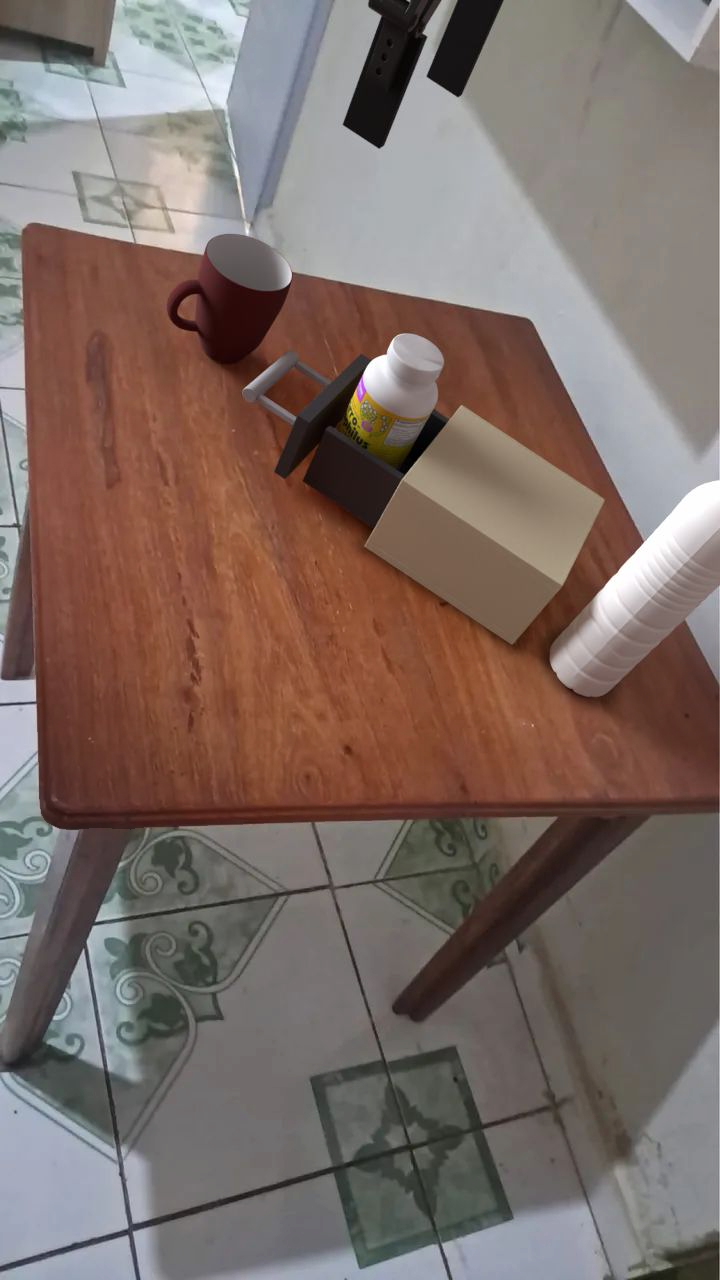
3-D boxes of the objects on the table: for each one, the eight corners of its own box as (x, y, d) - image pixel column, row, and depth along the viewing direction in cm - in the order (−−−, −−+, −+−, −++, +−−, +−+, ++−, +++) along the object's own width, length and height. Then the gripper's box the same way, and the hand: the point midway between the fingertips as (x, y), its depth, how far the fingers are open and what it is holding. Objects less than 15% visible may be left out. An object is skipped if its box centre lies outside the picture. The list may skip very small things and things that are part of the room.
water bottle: (534, 645, 84) (713, 442, 66) (585, 631, 88) (769, 436, 69) (587, 728, 81) (791, 538, 62) (638, 710, 84) (846, 527, 66)
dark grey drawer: (217, 435, 84) (238, 375, 79) (285, 375, 92) (307, 317, 87) (410, 563, 83) (443, 511, 78) (461, 491, 92) (493, 440, 87)
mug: (178, 385, 87) (203, 294, 80) (143, 326, 90) (164, 232, 83) (276, 376, 93) (308, 290, 85) (240, 321, 96) (268, 233, 88)
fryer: (363, 546, 84) (402, 479, 77) (423, 470, 93) (461, 404, 86) (512, 645, 83) (562, 586, 77) (557, 559, 92) (605, 499, 86)
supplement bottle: (318, 435, 87) (369, 320, 77) (380, 436, 90) (437, 326, 81) (341, 490, 84) (398, 378, 74) (405, 489, 87) (467, 382, 77)
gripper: (580, -333, 56) (429, 41, 71) (416, -376, 39) (267, 125, 55) (687, -264, 56) (513, 96, 71) (569, -277, 39) (376, 196, 55)
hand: (406, 109), depth 63 cm, fingers open, 13 cm apart
